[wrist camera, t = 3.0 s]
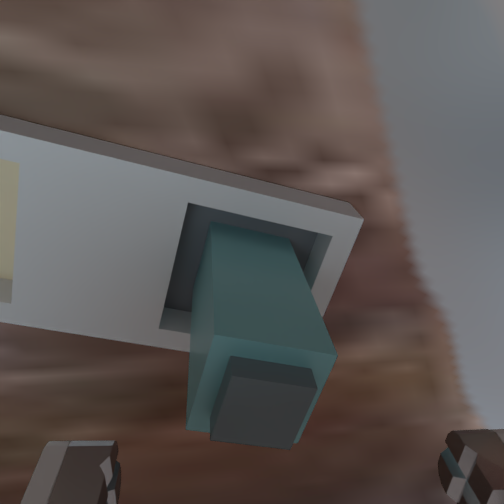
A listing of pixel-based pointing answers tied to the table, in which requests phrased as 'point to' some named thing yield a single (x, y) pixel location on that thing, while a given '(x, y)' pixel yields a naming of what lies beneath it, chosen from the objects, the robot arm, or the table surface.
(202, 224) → the socket panel
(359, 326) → the table surface
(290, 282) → the teal plug
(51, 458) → the robot arm
